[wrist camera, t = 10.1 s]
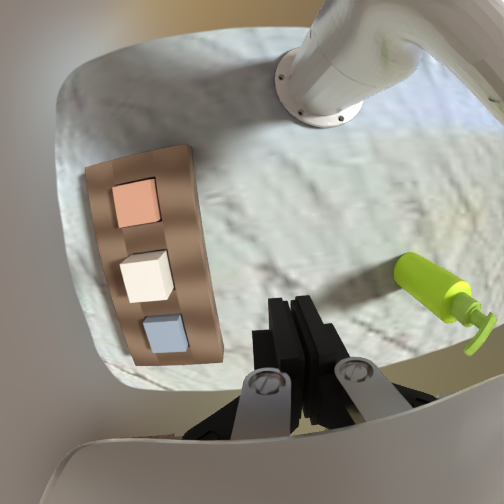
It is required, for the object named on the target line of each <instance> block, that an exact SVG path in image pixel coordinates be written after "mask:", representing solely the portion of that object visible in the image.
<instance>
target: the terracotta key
mask: <svg viewBox="0 0 504 504" xmlns="http://www.w3.org/2000/svg"><path fill="white" fill-rule="evenodd" d="M112 189H113V196H114V202H115V208H116V214H117V219H118V225H119V228H122V227H127V226H133V225H139V224H145V223H151V222H157V221H158V220H160V219H161V218H162V217H161V210H160V204H159V198H158V191H157V184H156V179H150V180H145V181H140V182H135V183H130V184H126V185H121V186H117V187H112Z"/></svg>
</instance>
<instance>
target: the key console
mask: <svg viewBox="0 0 504 504" xmlns="http://www.w3.org/2000/svg"><path fill="white" fill-rule="evenodd" d="M85 174H86V182H87V189H88V196H89V202H90V208H91V214H92V219H93V224H94V229H95V234H96V239H97V243H98V248H99V252H100V256H101V261H102V265H103V268H104V272H105V276H106V280H107V283H108V287H109V290H110V294H111V297H112V300H113V304H114V307H115V310H116V313H117V316H118V319H119V322H120V325H121V328H122V331H123V334H124V337H125V339H126V342H127V345H128V348H129V350H130V353H131V355H132V358H133V360H134V363H135V365H136V366H168V365H192V364H208V363H221V362H223V354H224V345H223V340H222V335H221V330H220V325H219V319H218V314H217V309H216V304H215V298H214V293H213V287H212V282H211V276H210V270H209V264H208V258H207V252H206V246H205V240H204V234H203V227H202V221H201V214H200V207H199V200H198V193H197V186H196V178H195V170H194V163H193V154H192V147H191V146H189V145H187V144H182V145H177V146H172V147H167V148H162V149H157V150H152V151H147V152H143V153H139V154H134V155H130V156H126V157H122V158H118V159H114V160H110V161H107V162H103V163H99V164H96V165H92V166H89V167H86V168H85ZM150 179H156V184H157V191H158V198H159V204H160V210H161V217H162V218H161V219H160V220H158V221H157V222H151V223H145V224H139V225H133V226H127V227H122V228H119V225H118V219H117V214H116V208H115V202H114V196H113V189H112V187H117V186H121V185H126V184H130V183H135V182H140V181H145V180H150ZM163 250H167V256H168V260H169V265H170V270H171V275H172V279H173V284H174V288H173V290H172V292H171V293H170V295H169V297H168V299H167V300H159V301H147V302H135V303H130V301H129V298H128V294H127V291H126V287H125V284H124V280H123V276H122V272H121V268H120V264H121V263H122V262H123V261H124V260H126V259H127V258H128V257H129V256H130V255H134V254H141V253H149V252H156V251H163ZM178 313H181V314H182V318H183V322H184V326H185V330H186V333H187V337H188V341H189V343H188V347H187V350H186V352H166V353H153V352H152V349H151V346H150V343H149V340H148V337H147V334H146V331H145V328H144V324H143V322H144V321H145V319H146V317H147V316H152V315H166V314H178Z"/></svg>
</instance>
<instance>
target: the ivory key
mask: <svg viewBox="0 0 504 504" xmlns="http://www.w3.org/2000/svg"><path fill="white" fill-rule="evenodd" d="M120 268H121V272H122V276H123V280H124V284H125V287H126V291H127V294H128V298H129V301H130V303H135V302H147V301H159V300H167V299H168V297H169V295H170V293H171V292H172V290H173V288H174V284H173V279H172V275H171V270H170V265H169V260H168V256H167V250H163V251H156V252H149V253H141V254H134V255H130V256H129V257H128V258H127V259H126V260H124V261H123V262H122V263H121V264H120Z"/></svg>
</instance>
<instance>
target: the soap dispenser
mask: <svg viewBox="0 0 504 504" xmlns="http://www.w3.org/2000/svg"><path fill="white" fill-rule="evenodd" d="M393 275H394V280H395V282H396V283H397V284H398V285H399V286H401V287H402V288H403V289H404V290H406V291H407V292H408V293H409V294H411V295H412V296H413V297H414V298H415V299H417V300H418V301H419V302H420V303H422V304H423V305H424V306H425V307H426V308H428V309H429V310H430V311H431V312H432V313H434V314H435V315H436V316H437V317H438V318H440V319H441V320H442V321H443V322H445V323H453V322H455V321H456V320H457V321H459V322H460V323H461V324H462V325H464V326H465V327H470V326H472V325H473V324H474V325H475V326H476V327H477V328H479V331H478V332H477V334H476V335H475V337H474V338H473V339H472V340H471V342H470V343H469V344H468V345H467V346H466V347H465V348H464V353H465V354H467V355H468V356H471V355H472V354H473V353H474V352H475V351H476V350H478V348H479V347H480V346H481V345H482V344H483V343H484V341H485V340H486V339H487V337H488V335H489V334H490V332H491V331H492V329H493V327H494V325H495V324H496V322H497V319H496V317H495V316H494V314H493V313H491V312H489V314H488V316H486V315H484V314H483V313H482V312H481V304H480V303H479V302H478V301H477V300H475V299H474V298H472V297H471V288H470V285H469V284H468V283H467V282H466V281H464V280H462V279H460V278H459V277H457V276H455V275H454V274H452V273H450V272H448V271H447V270H445V269H443V268H441V267H440V266H438V265H436V264H434V263H433V262H431V261H429V260H427V259H425V258H423V257H422V256H420V255H418V254H416V253H413V252H409V253H406V254H404V255H402V256H401V257H400V258H399V259H398V261H397V262H396V264H395V267H394V272H393Z"/></svg>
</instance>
